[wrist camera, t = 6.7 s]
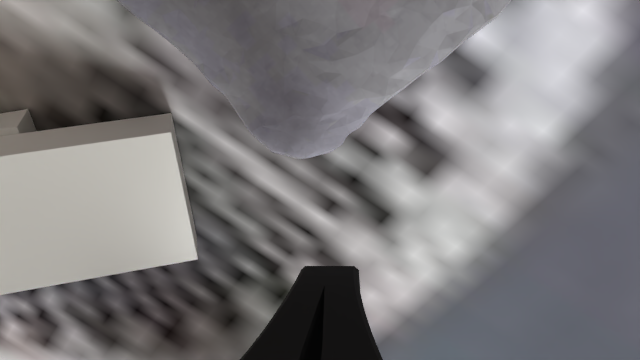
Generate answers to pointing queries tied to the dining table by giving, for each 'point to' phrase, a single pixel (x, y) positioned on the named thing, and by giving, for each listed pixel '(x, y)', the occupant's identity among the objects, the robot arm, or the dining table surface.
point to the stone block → (313, 57)
